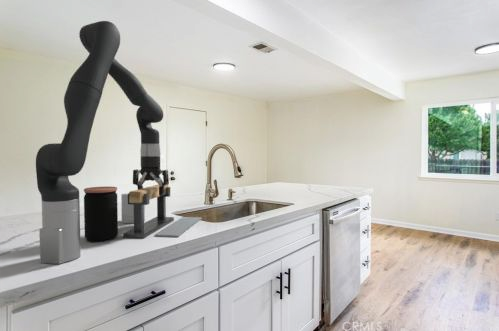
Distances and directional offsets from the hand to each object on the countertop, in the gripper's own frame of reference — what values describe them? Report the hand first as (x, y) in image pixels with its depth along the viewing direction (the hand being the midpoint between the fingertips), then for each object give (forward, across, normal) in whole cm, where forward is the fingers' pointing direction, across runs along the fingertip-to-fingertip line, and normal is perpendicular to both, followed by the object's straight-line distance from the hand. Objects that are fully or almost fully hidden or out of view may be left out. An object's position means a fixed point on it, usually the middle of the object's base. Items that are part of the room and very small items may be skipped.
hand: (150, 195), depth 120 cm
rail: (+1, 0, 0) cm, 1 cm away
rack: (+13, 0, 0) cm, 13 cm away
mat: (+13, +11, +4) cm, 18 cm away
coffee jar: (+14, -11, -16) cm, 24 cm away
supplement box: (+14, -13, +10) cm, 21 cm away
